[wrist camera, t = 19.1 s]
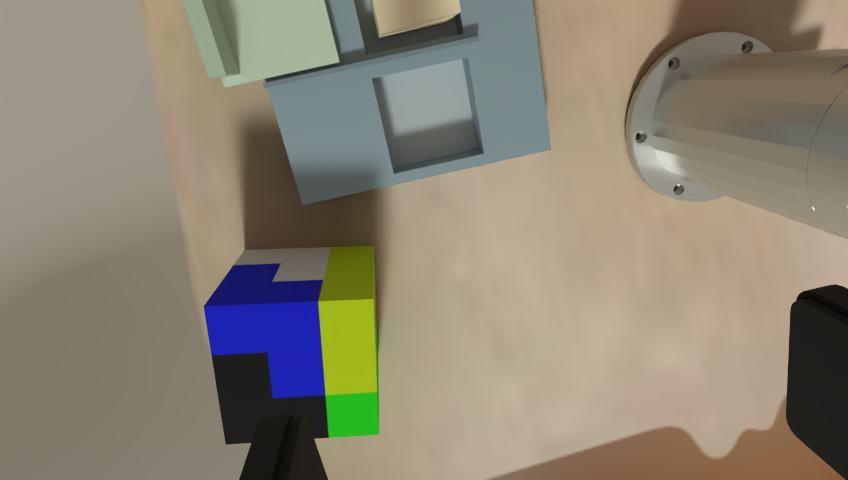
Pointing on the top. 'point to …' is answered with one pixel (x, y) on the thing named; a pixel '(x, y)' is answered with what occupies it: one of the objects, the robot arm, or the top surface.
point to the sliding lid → (261, 37)
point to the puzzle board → (413, 99)
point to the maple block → (411, 15)
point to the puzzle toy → (297, 340)
